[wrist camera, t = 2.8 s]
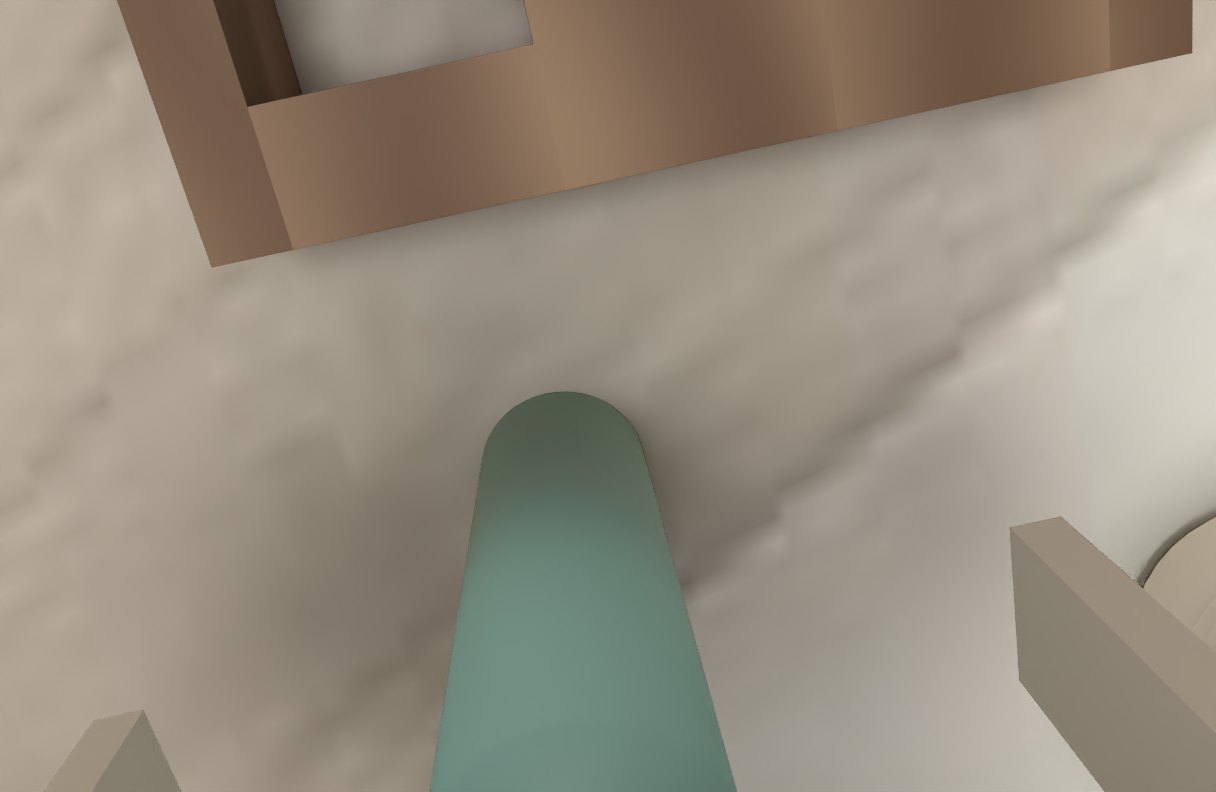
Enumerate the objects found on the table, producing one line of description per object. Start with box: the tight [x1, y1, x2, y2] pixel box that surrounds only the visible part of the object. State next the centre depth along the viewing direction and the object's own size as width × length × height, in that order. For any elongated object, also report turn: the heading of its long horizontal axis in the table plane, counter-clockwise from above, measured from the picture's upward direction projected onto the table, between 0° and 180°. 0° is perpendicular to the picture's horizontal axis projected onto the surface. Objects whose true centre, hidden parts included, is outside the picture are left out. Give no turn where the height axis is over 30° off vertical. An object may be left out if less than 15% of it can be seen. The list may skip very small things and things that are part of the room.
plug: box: [430, 392, 737, 792], centre depth 17 cm, size 4×4×12 cm
